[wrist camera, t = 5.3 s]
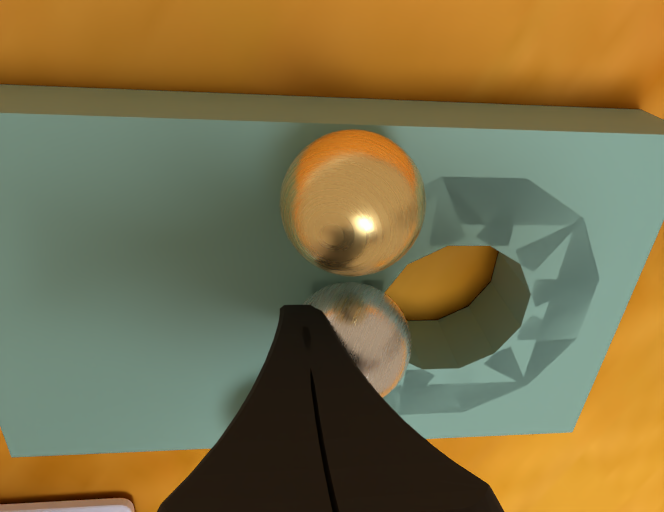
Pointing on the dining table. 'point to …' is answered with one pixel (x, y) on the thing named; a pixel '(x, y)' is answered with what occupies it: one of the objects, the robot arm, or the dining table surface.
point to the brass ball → (352, 202)
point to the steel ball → (368, 330)
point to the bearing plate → (298, 258)
